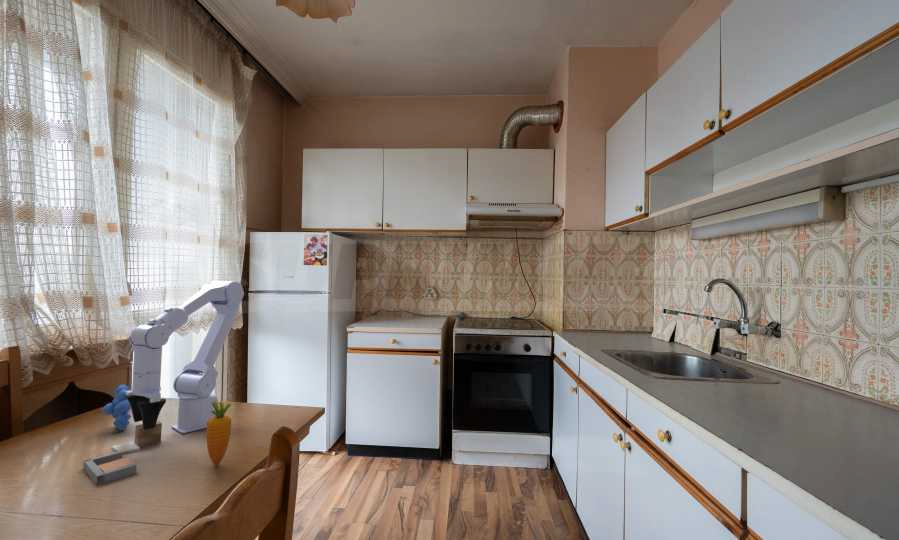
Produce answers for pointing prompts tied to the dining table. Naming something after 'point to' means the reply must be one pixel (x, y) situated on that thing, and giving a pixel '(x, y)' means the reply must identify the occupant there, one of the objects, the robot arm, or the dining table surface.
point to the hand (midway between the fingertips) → (144, 424)
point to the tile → (114, 464)
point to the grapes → (119, 408)
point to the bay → (101, 477)
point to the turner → (141, 438)
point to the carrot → (218, 433)
